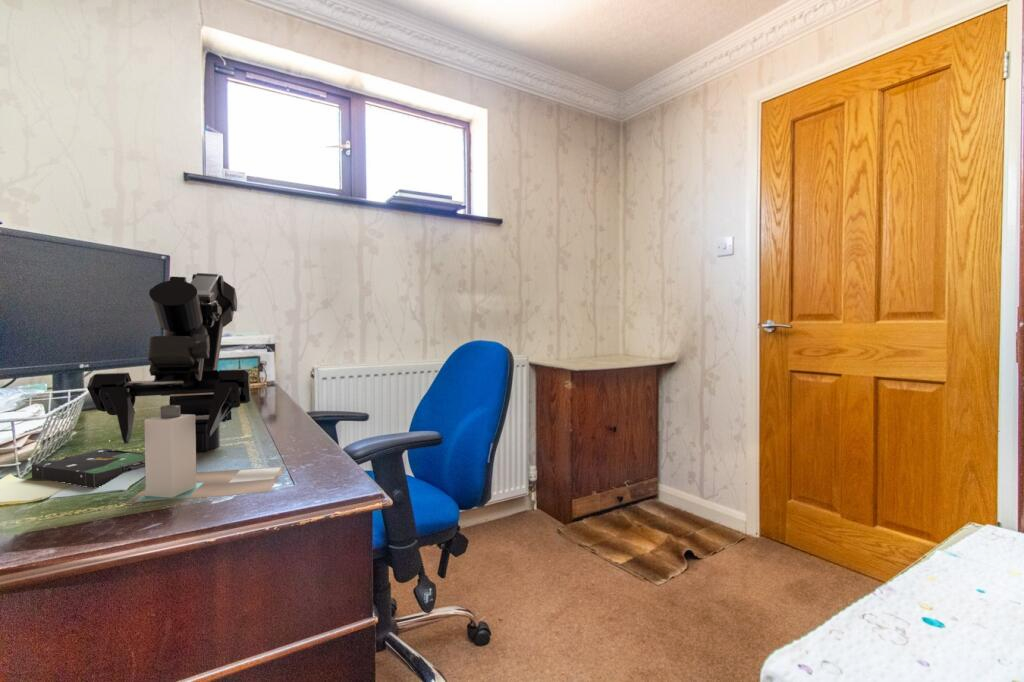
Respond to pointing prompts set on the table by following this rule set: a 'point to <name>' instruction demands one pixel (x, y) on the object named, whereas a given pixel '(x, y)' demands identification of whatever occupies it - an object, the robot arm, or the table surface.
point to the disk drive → (89, 467)
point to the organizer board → (223, 484)
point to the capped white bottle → (170, 453)
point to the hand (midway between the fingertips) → (168, 438)
